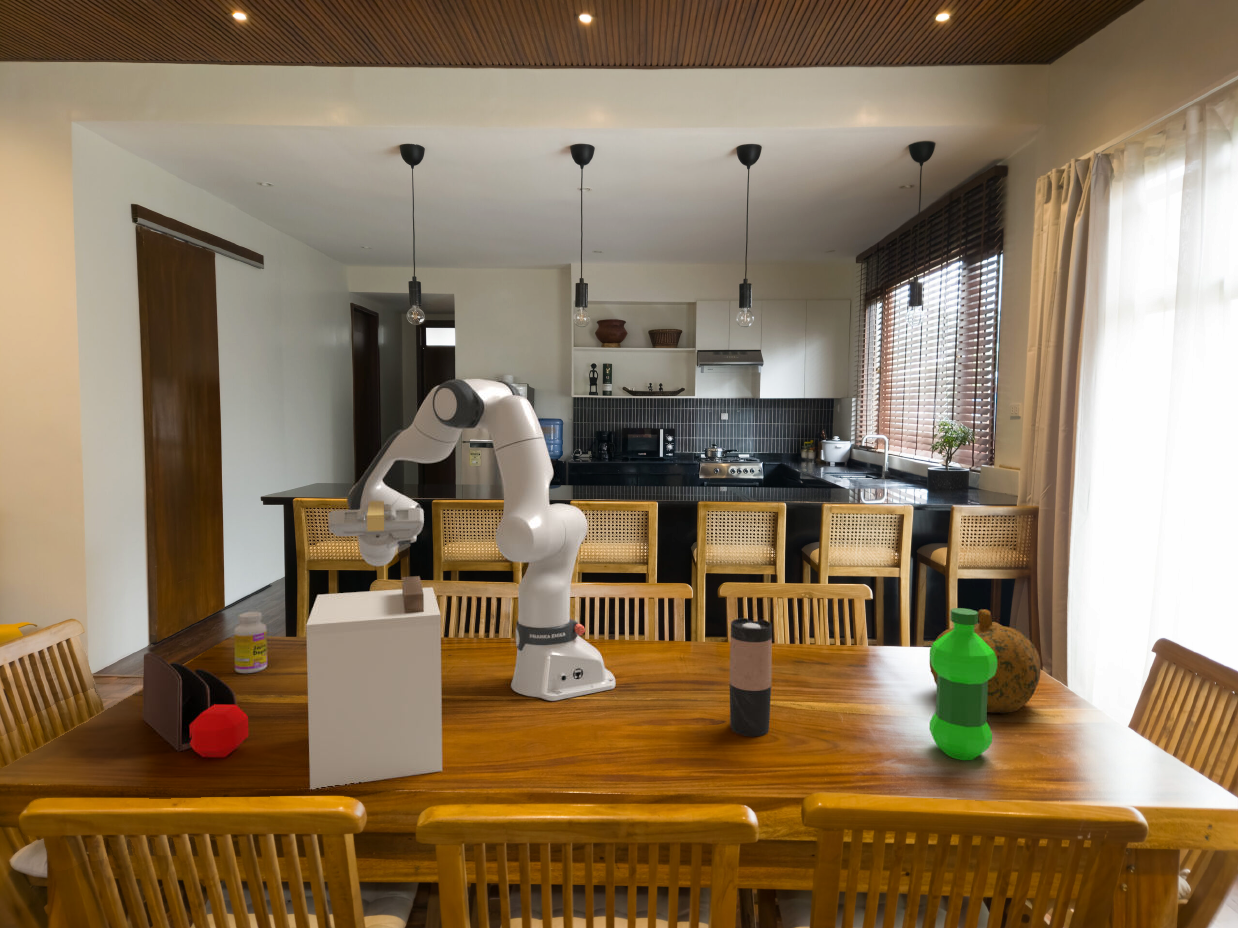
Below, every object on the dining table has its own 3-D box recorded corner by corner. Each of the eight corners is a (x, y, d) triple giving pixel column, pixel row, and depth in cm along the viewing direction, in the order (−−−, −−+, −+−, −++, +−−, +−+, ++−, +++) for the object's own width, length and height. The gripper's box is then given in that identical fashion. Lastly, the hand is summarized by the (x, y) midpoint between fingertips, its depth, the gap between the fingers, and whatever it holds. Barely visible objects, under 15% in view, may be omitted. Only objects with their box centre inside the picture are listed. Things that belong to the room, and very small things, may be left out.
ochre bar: (384, 514, 160) (383, 500, 160) (384, 530, 137) (383, 514, 137) (369, 514, 159) (369, 501, 159) (367, 531, 136) (367, 515, 136)
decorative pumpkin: (1054, 695, 150) (1051, 601, 148) (1026, 736, 134) (1023, 632, 132) (952, 675, 163) (948, 589, 161) (917, 710, 148) (912, 616, 146)
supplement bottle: (254, 675, 162) (252, 618, 161) (228, 673, 163) (226, 617, 163) (273, 665, 169) (272, 611, 168) (249, 663, 170) (247, 609, 169)
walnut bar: (419, 592, 132) (419, 576, 132) (423, 611, 118) (423, 593, 118) (402, 593, 131) (402, 577, 131) (404, 613, 118) (404, 595, 117)
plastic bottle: (963, 772, 119) (969, 622, 117) (914, 745, 128) (918, 606, 127) (1006, 760, 123) (1012, 615, 121) (955, 735, 132) (960, 601, 131)
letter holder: (178, 753, 125) (175, 673, 124) (142, 721, 138) (139, 648, 137) (239, 734, 132) (237, 658, 131) (200, 705, 145) (197, 636, 144)
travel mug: (745, 740, 130) (747, 631, 129) (720, 724, 137) (722, 620, 136) (779, 732, 134) (781, 625, 132) (753, 717, 140) (754, 615, 139)
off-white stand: (434, 722, 137) (432, 587, 136) (442, 770, 118) (440, 614, 117) (320, 735, 131) (317, 594, 130) (310, 789, 112) (306, 624, 111)
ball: (211, 741, 129) (209, 699, 129) (255, 742, 129) (254, 700, 128) (182, 762, 121) (181, 717, 121) (229, 763, 121) (228, 718, 120)
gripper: (329, 520, 166) (325, 495, 155) (421, 516, 173) (424, 492, 161) (329, 545, 164) (324, 523, 152) (422, 541, 170) (425, 519, 158)
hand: (376, 507), depth 156 cm, fingers closed on ochre bar, 3 cm apart
